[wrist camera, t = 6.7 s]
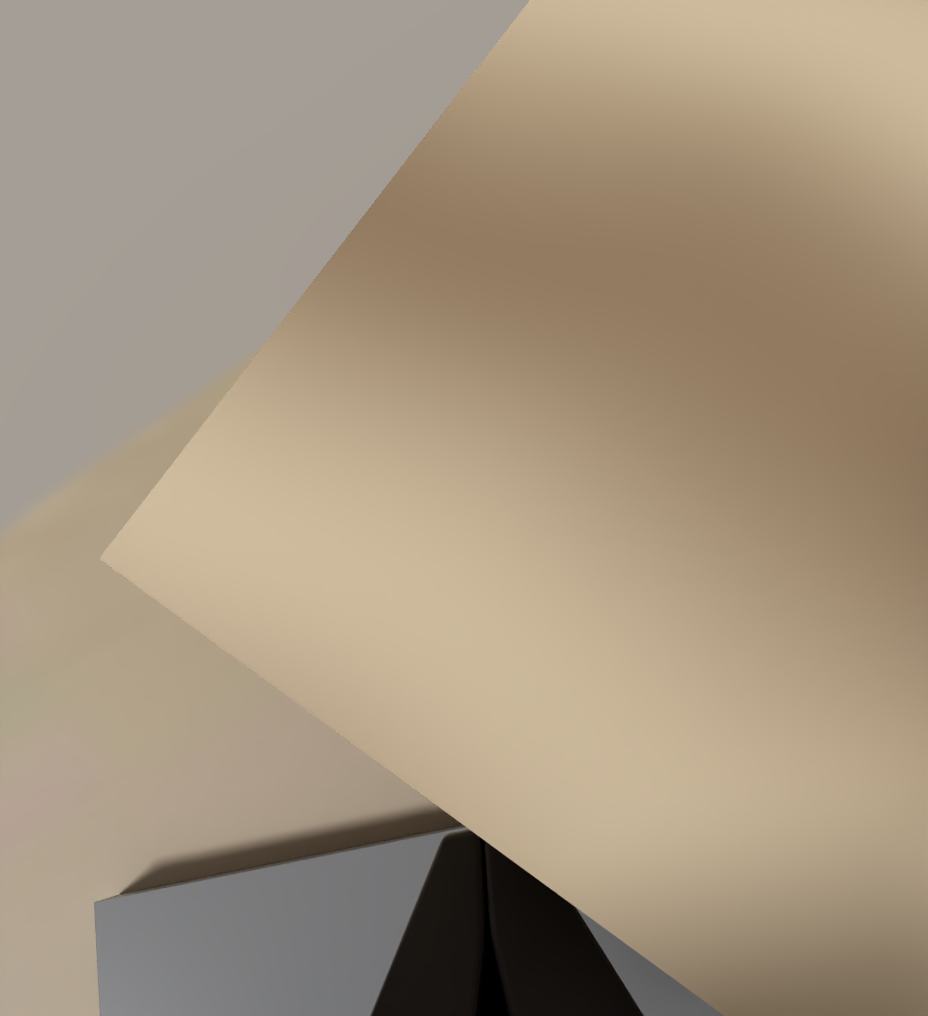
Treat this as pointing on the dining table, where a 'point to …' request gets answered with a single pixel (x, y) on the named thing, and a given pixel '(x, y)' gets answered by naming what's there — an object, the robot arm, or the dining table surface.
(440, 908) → the robot arm
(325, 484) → the beige wooden block
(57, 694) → the dining table surface
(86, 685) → the dining table surface
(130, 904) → the label board
